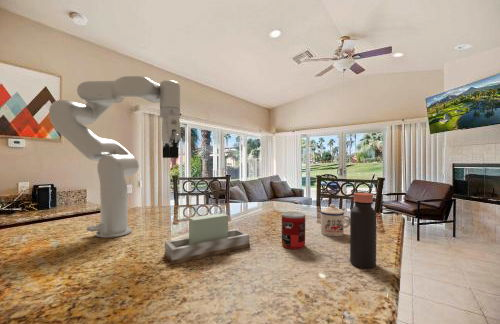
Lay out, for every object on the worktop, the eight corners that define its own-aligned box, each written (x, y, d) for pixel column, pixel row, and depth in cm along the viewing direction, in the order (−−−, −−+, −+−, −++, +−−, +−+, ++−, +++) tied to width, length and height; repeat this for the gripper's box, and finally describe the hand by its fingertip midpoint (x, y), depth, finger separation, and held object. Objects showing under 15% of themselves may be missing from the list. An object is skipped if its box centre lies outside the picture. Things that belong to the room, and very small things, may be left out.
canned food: (279, 242, 89) (279, 211, 89) (301, 241, 90) (301, 211, 90) (284, 250, 82) (284, 216, 82) (308, 249, 82) (308, 216, 82)
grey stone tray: (173, 264, 71) (173, 250, 70) (164, 253, 78) (164, 241, 78) (249, 246, 85) (250, 234, 85) (236, 239, 93) (236, 228, 93)
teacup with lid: (323, 236, 96) (323, 206, 95) (317, 230, 105) (318, 202, 105) (355, 237, 95) (355, 206, 95) (346, 230, 104) (347, 202, 104)
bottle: (374, 271, 66) (375, 196, 66) (347, 265, 70) (348, 194, 70) (377, 262, 72) (377, 193, 72) (352, 257, 76) (352, 191, 75)
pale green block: (193, 252, 77) (193, 220, 76) (189, 248, 80) (189, 217, 80) (228, 245, 83) (228, 215, 83) (222, 242, 87) (222, 213, 86)
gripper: (187, 111, 92) (187, 157, 92) (173, 117, 106) (173, 157, 106) (166, 108, 88) (166, 157, 88) (154, 116, 102) (155, 157, 102)
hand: (170, 157), depth 97 cm, fingers open, 9 cm apart
